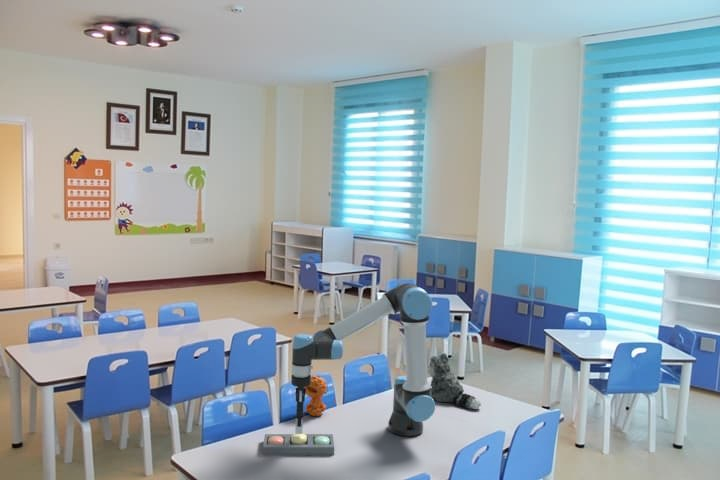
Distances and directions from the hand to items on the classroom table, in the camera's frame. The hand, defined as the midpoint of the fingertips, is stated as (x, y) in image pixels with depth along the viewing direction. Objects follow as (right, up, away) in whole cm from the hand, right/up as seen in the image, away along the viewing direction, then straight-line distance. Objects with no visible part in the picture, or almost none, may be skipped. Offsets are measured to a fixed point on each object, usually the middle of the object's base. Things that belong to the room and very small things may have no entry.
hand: (298, 433), depth 230 cm
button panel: (0, -6, +1) cm, 6 cm away
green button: (+9, -5, +1) cm, 10 cm away
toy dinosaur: (+3, -3, +36) cm, 37 cm away
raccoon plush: (+71, -4, +63) cm, 95 cm away
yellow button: (0, -4, 0) cm, 4 cm away
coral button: (-9, -5, 0) cm, 10 cm away
